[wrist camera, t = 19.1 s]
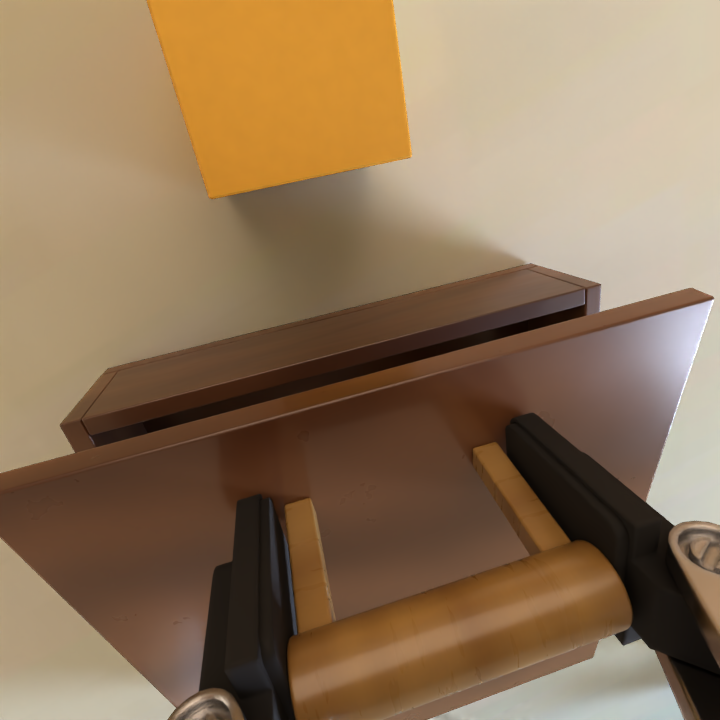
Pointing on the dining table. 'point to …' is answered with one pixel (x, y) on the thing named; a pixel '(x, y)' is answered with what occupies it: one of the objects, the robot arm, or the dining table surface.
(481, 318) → the brown wooden tray
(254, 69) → the plain orange cube
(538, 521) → the lid
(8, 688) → the dining table surface
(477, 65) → the dining table surface
